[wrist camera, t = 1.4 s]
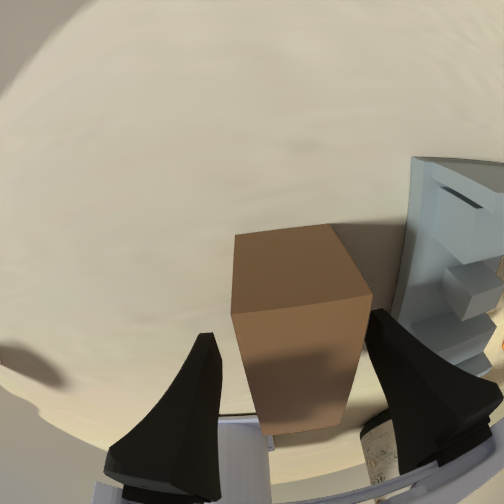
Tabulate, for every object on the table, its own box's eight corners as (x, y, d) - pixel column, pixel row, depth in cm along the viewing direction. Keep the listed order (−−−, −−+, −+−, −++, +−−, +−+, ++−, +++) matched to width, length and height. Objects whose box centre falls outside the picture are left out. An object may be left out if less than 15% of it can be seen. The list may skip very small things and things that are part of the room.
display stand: (463, 326, 16) (492, 370, 11) (378, 353, 16) (402, 411, 12) (508, 163, 9) (566, 194, 5) (411, 156, 10) (487, 193, 6)
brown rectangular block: (322, 355, 16) (339, 424, 11) (258, 364, 16) (262, 435, 12) (327, 222, 11) (373, 293, 7) (235, 233, 12) (230, 314, 7)
